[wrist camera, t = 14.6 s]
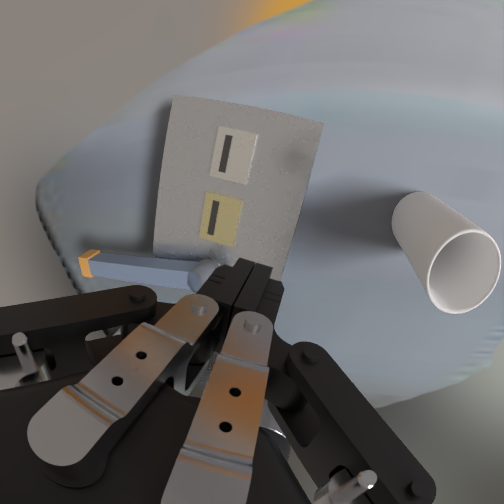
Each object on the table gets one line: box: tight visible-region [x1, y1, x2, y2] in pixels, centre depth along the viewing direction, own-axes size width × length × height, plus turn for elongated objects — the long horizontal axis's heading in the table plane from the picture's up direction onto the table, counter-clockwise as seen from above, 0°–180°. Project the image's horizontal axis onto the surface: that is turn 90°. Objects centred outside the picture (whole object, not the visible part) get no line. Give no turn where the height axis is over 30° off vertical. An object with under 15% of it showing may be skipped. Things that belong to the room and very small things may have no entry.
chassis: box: [153, 95, 324, 281], centre depth 37 cm, size 22×18×6 cm
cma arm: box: [78, 249, 219, 293], centre depth 39 cm, size 22×4×3 cm, turn 91°
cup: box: [391, 192, 501, 314], centre depth 28 cm, size 8×8×16 cm
